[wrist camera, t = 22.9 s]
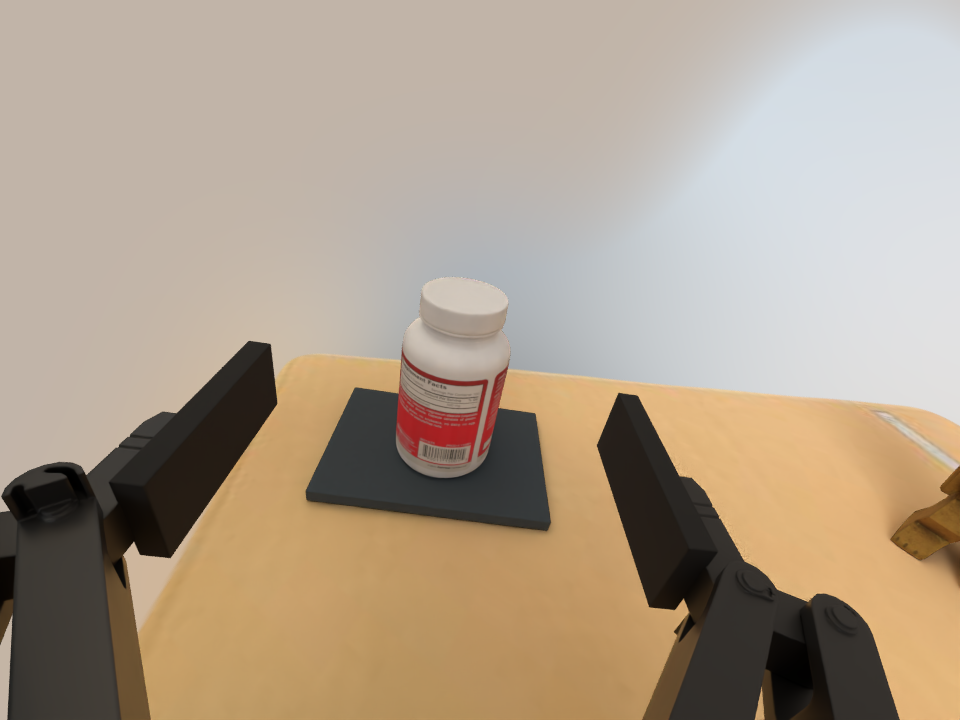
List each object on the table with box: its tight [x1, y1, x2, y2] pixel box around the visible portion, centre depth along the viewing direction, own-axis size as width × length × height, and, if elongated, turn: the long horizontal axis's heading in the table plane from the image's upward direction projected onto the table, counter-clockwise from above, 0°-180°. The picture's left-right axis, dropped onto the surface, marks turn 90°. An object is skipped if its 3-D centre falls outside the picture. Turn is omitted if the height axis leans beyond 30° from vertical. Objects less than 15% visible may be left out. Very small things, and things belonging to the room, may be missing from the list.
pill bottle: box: [396, 277, 510, 478], centre depth 25 cm, size 6×6×11 cm
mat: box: [306, 388, 551, 531], centre depth 28 cm, size 14×10×1 cm
